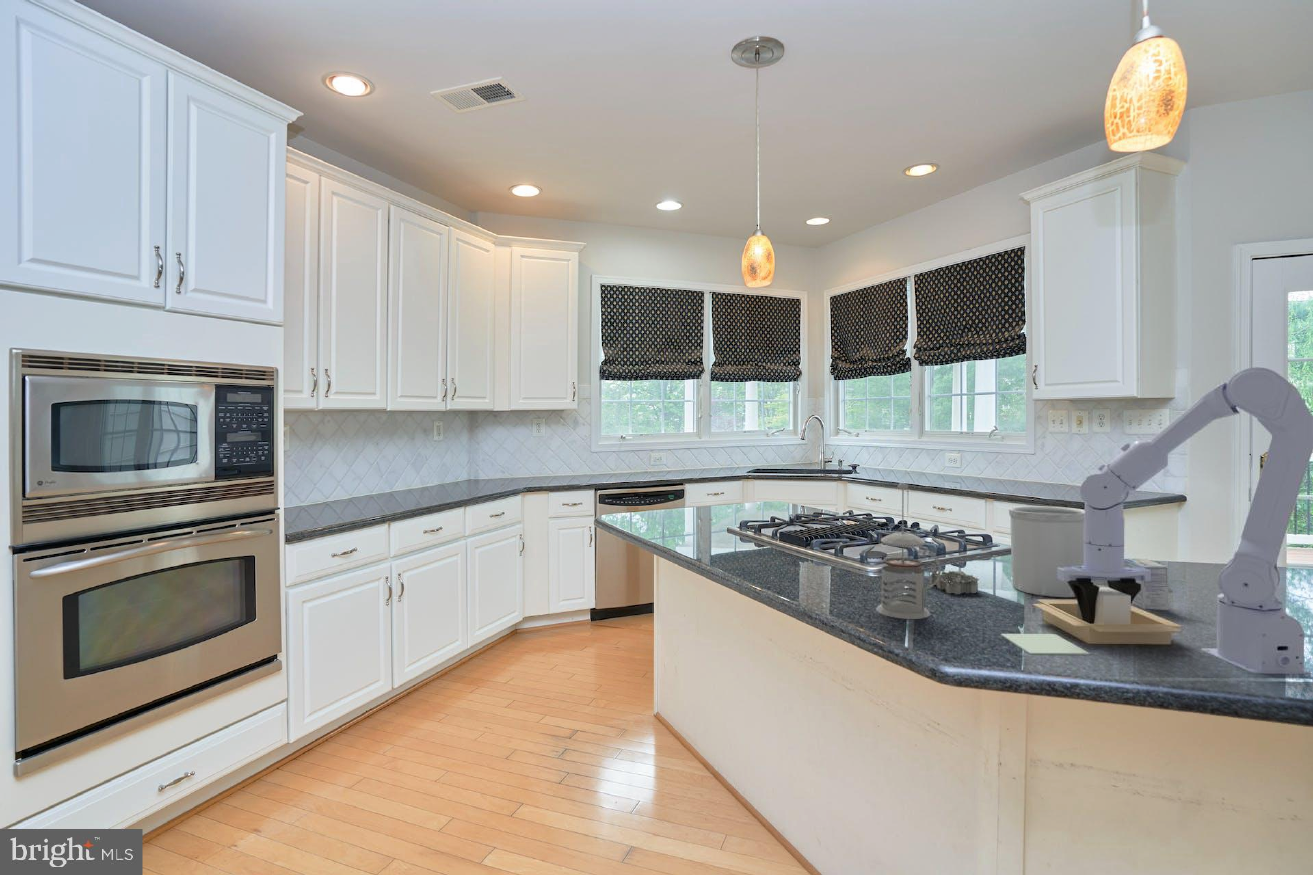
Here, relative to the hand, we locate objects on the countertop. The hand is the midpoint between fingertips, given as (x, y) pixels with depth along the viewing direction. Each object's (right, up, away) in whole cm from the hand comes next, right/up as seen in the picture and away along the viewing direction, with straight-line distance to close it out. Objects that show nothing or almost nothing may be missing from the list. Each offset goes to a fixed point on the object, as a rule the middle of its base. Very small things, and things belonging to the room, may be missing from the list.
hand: (1103, 622), depth 110 cm
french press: (-29, -2, +13) cm, 31 cm away
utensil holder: (+8, -2, +29) cm, 30 cm away
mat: (-14, -2, -6) cm, 16 cm away
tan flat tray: (0, -2, 0) cm, 2 cm away
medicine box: (+20, -2, +16) cm, 26 cm away
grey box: (0, -2, 0) cm, 2 cm away
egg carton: (-11, -2, +31) cm, 33 cm away
